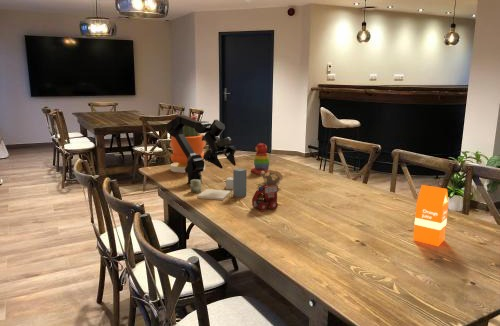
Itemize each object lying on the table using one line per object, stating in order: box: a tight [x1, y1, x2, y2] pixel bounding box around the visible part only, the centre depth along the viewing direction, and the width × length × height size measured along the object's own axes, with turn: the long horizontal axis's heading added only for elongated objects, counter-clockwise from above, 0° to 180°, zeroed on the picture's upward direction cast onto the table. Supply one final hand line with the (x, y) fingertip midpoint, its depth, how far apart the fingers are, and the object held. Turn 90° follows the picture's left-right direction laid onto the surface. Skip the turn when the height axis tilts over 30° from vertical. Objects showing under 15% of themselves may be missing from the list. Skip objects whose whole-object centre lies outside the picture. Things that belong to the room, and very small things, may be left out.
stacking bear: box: [250, 142, 270, 176], centre depth 252 cm, size 11×10×18 cm
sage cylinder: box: [190, 179, 202, 194], centre depth 209 cm, size 5×5×6 cm
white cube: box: [225, 176, 233, 190], centre depth 218 cm, size 5×5×5 cm
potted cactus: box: [169, 112, 207, 174], centre depth 254 cm, size 22×22×35 cm
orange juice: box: [412, 184, 449, 247], centre depth 149 cm, size 8×9×20 cm
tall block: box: [232, 167, 247, 198], centre depth 203 cm, size 4×4×13 cm
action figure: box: [260, 169, 284, 187], centre depth 223 cm, size 10×11×15 cm
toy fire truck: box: [251, 185, 279, 212], centre depth 184 cm, size 7×12×10 cm, turn 115°
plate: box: [196, 188, 232, 201], centre depth 204 cm, size 13×13×1 cm
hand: (228, 166), depth 207 cm, fingers open, 9 cm apart
